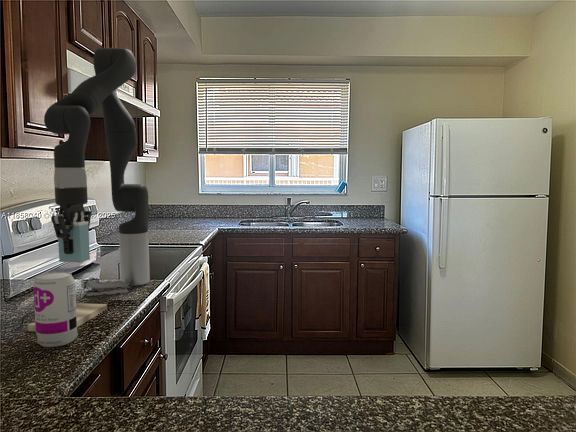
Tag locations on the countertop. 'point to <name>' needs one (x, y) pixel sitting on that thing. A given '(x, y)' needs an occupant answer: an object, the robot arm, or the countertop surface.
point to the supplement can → (55, 309)
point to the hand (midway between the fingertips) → (74, 251)
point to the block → (76, 244)
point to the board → (81, 313)
